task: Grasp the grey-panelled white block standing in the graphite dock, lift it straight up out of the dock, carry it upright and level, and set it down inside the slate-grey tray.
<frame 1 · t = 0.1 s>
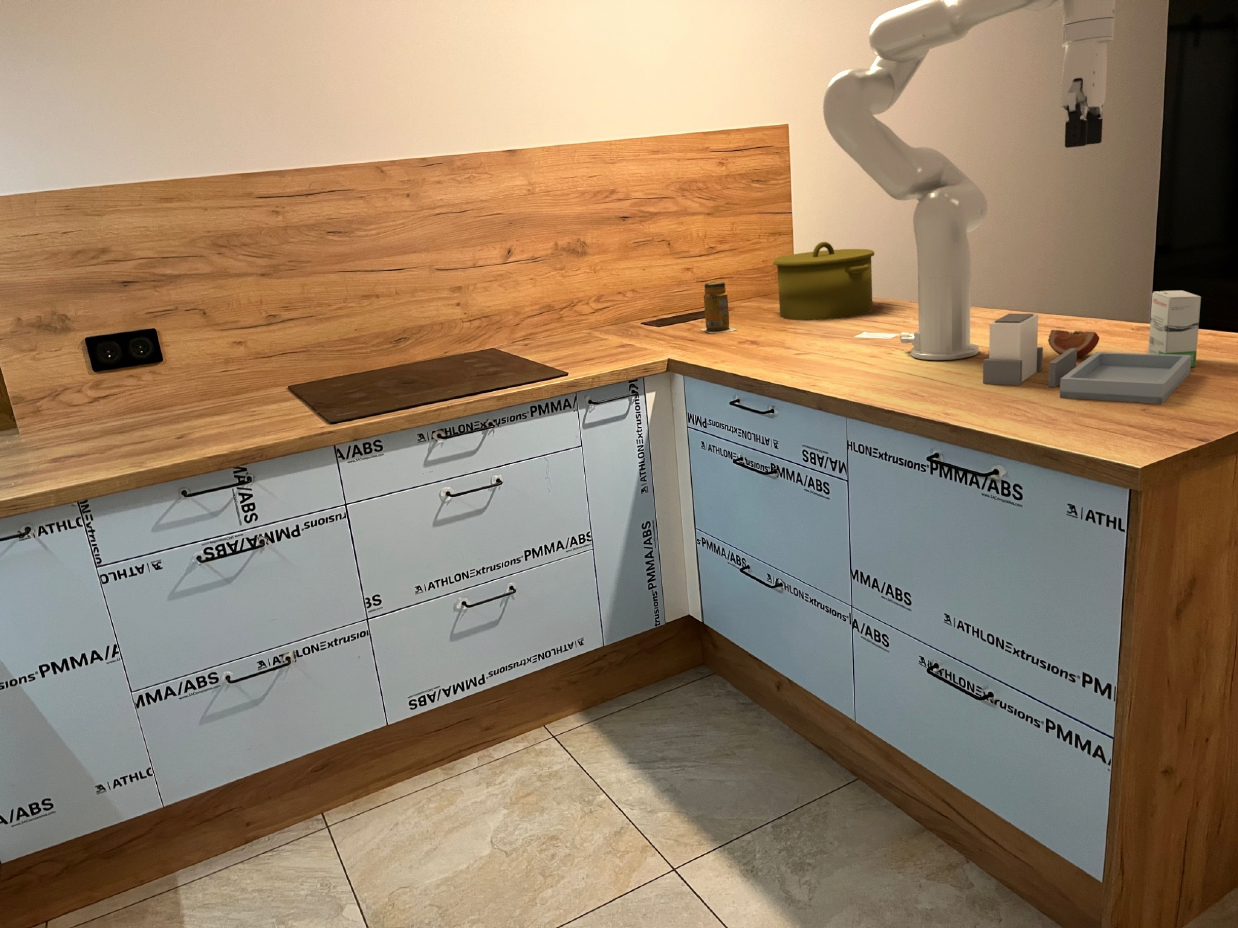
hand: (1083, 145, 155), 37 cm above the countertop, tool pointing down, fingers open, 9 cm apart
cooking pot: (825, 313, 245), on the countertop
condiment: (718, 331, 236), on the countertop
tray: (1126, 385, 146), on the countertop
fruit slice: (1072, 358, 168), on the countertop
dock: (1013, 376, 159), on the countertop
grey-panelled white block: (1013, 347, 157), in the dock
ink box: (1170, 364, 156), on the countertop
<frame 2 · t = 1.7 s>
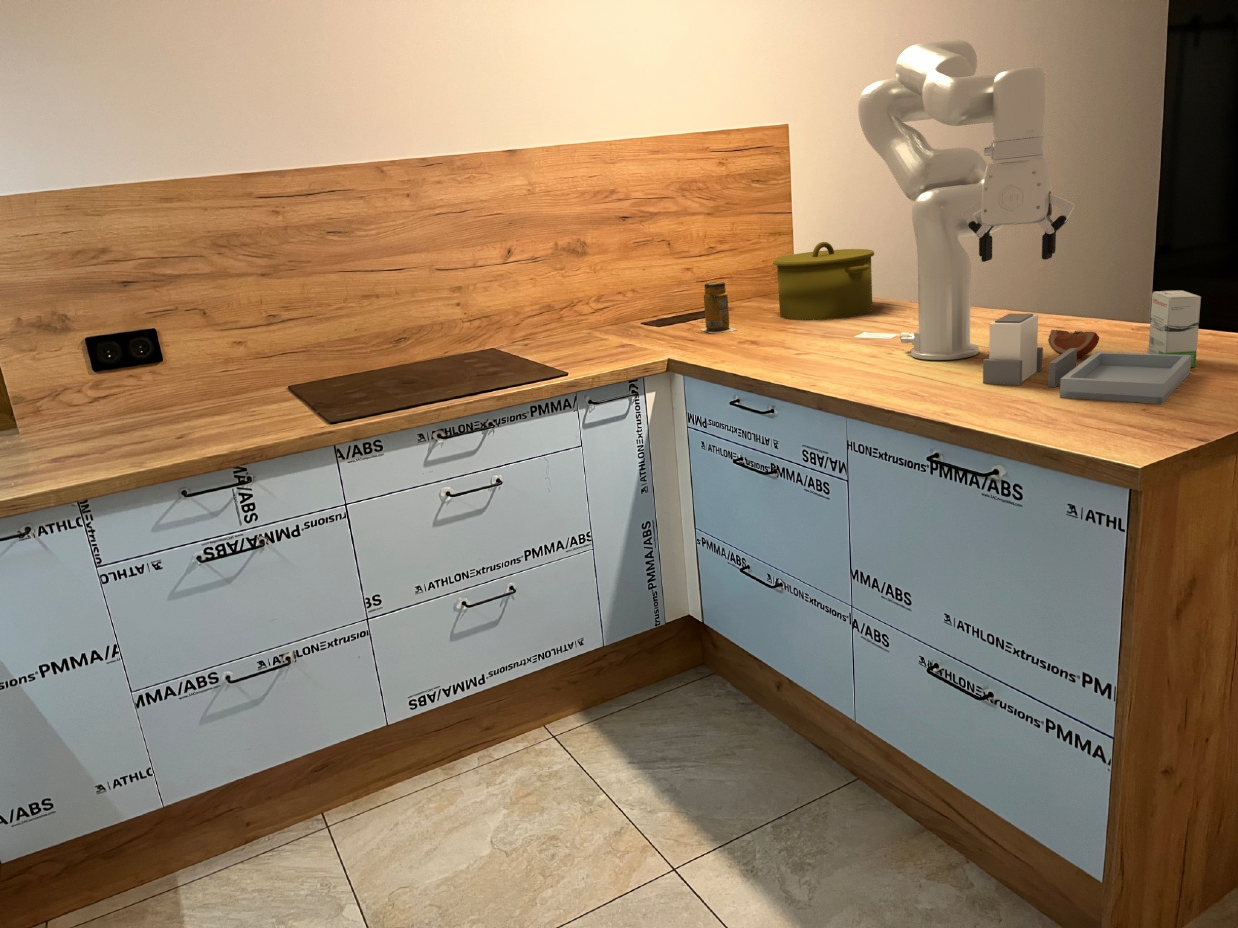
hand: (1016, 259, 153), 20 cm above the countertop, tool pointing down, fingers open, 9 cm apart
nothing on the countertop moved.
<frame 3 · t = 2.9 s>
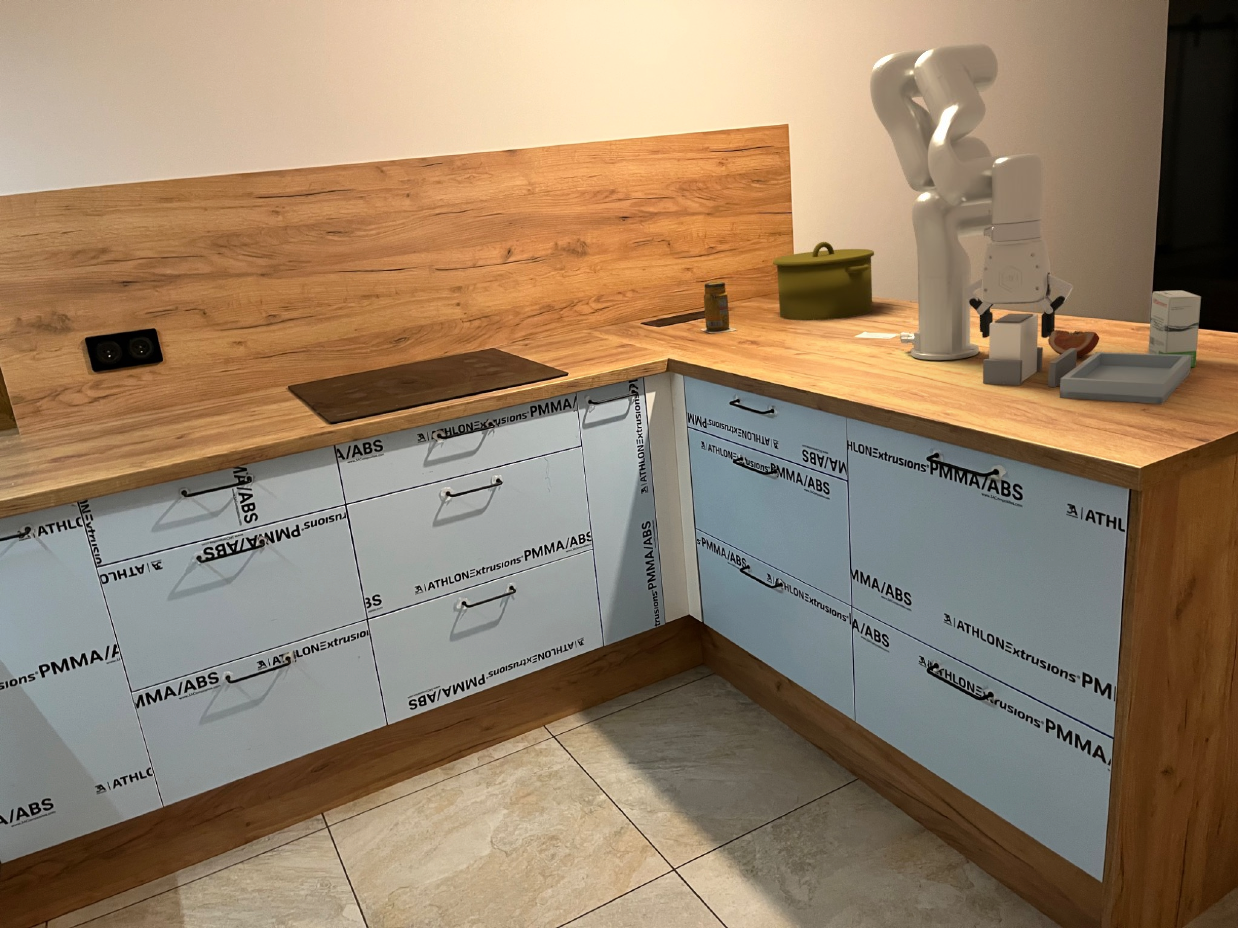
hand: (1016, 336, 156), 7 cm above the countertop, tool pointing down, fingers open, 9 cm apart
nothing on the countertop moved.
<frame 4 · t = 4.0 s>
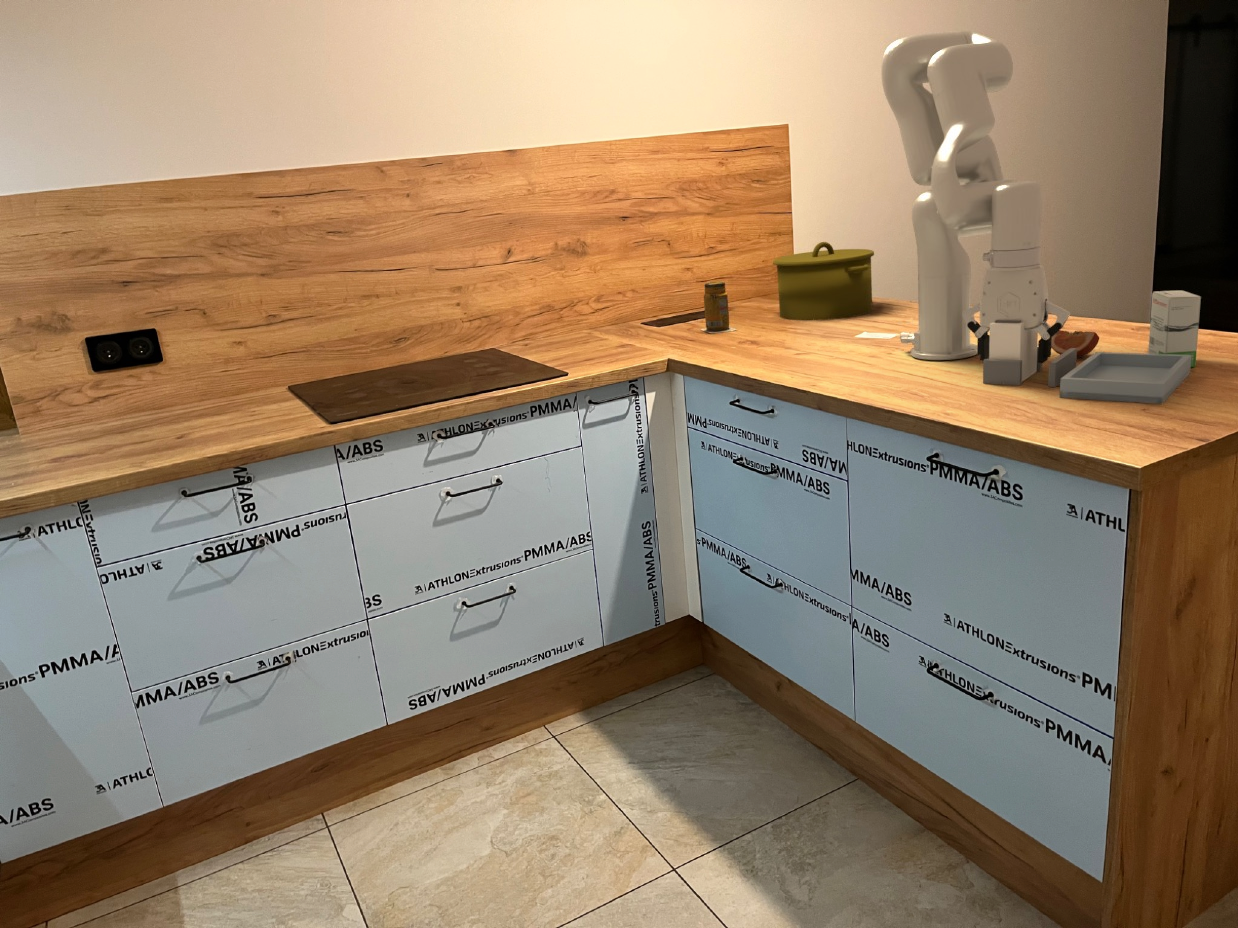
hand: (1013, 360, 158), 3 cm above the countertop, tool pointing down, fingers open, 9 cm apart
nothing on the countertop moved.
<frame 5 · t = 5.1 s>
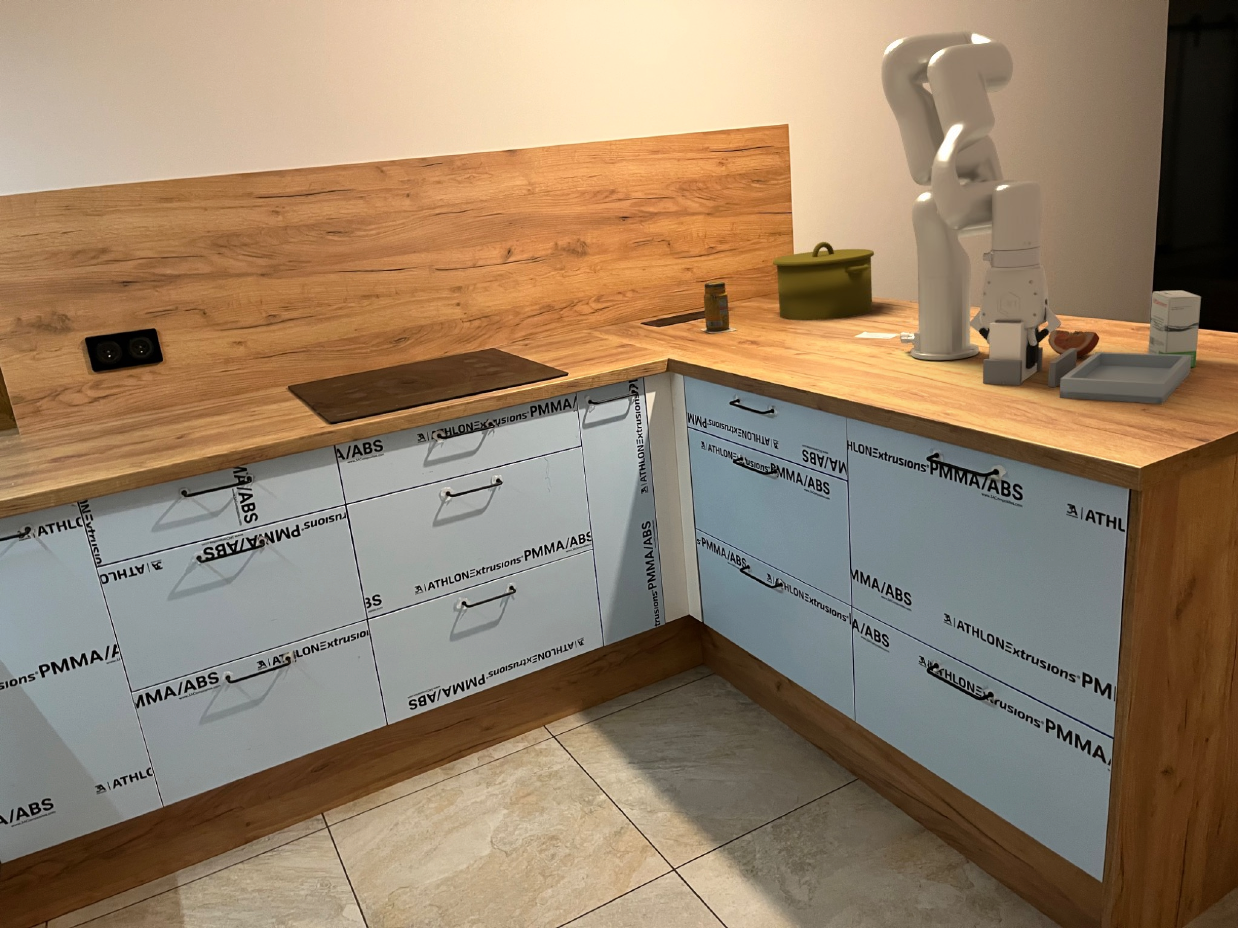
hand: (1013, 365, 158), 2 cm above the countertop, tool pointing down, fingers closed on grey-panelled white block, 5 cm apart
grey-panelled white block: (1013, 347, 157), in the dock, touching gripper
everything else where it was.
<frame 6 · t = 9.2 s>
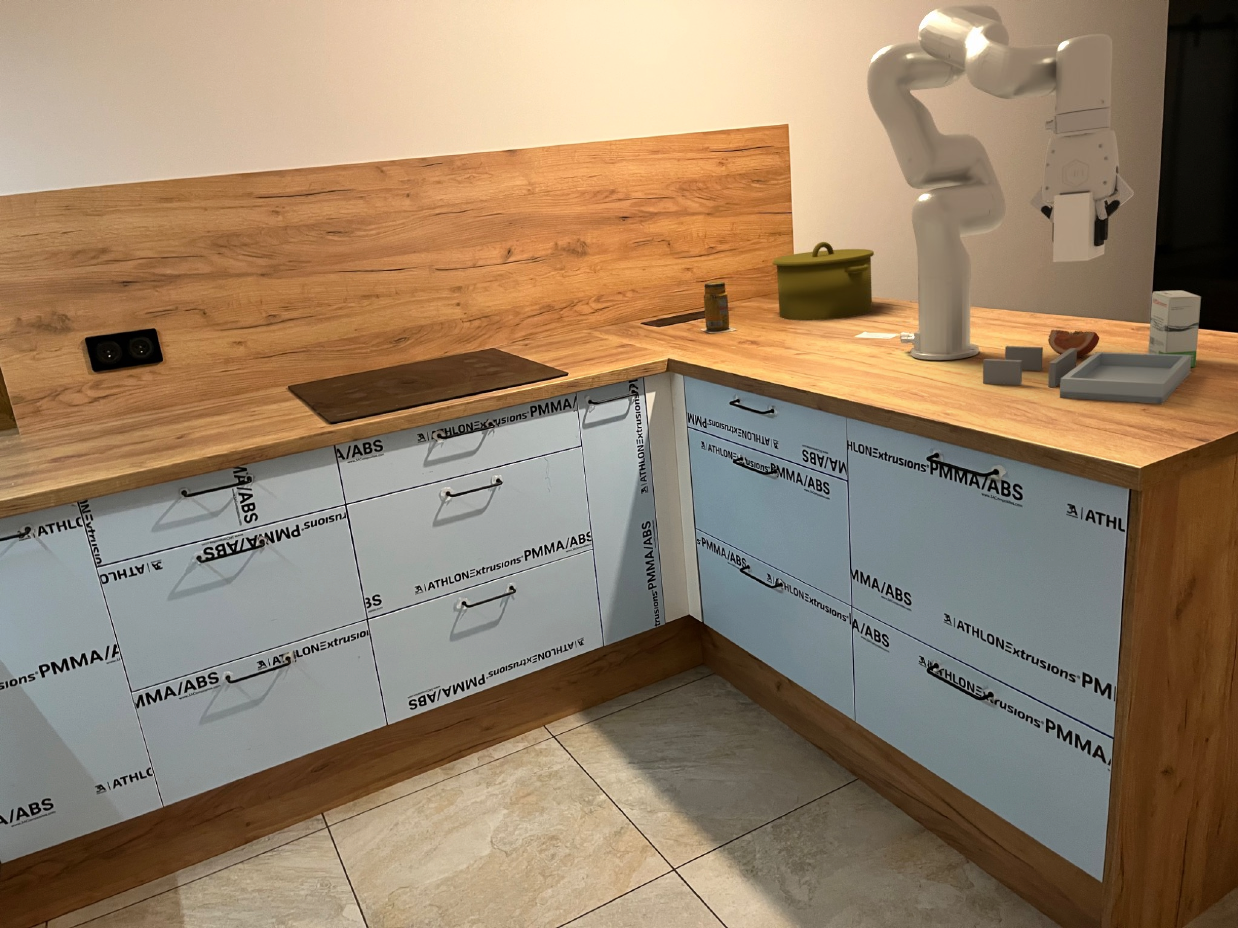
hand: (1079, 245, 145), 22 cm above the countertop, tool pointing down, fingers closed on grey-panelled white block, 5 cm apart
grey-panelled white block: (1079, 224, 144), point 25 cm above the countertop, touching gripper
everything else where it was.
when the fingers open (5 cm above the countertop, at t = 13.5 s): grey-panelled white block drops 2 cm, resting on tray.
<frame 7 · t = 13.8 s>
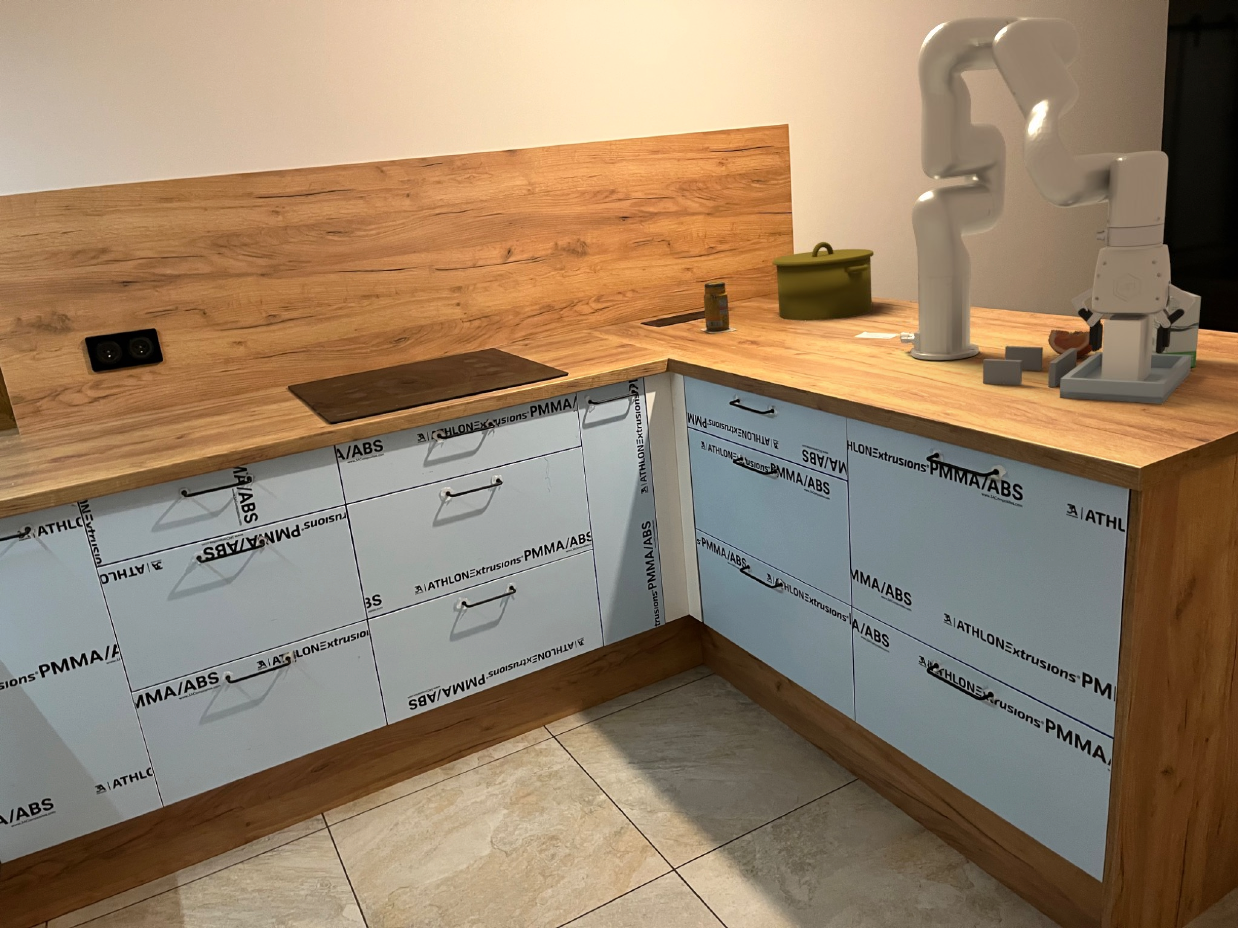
hand: (1128, 350, 144), 6 cm above the countertop, tool pointing down, fingers open, 8 cm apart
grey-panelled white block: (1127, 347, 144), in the tray, point 6 cm above the countertop
everything else where it was.
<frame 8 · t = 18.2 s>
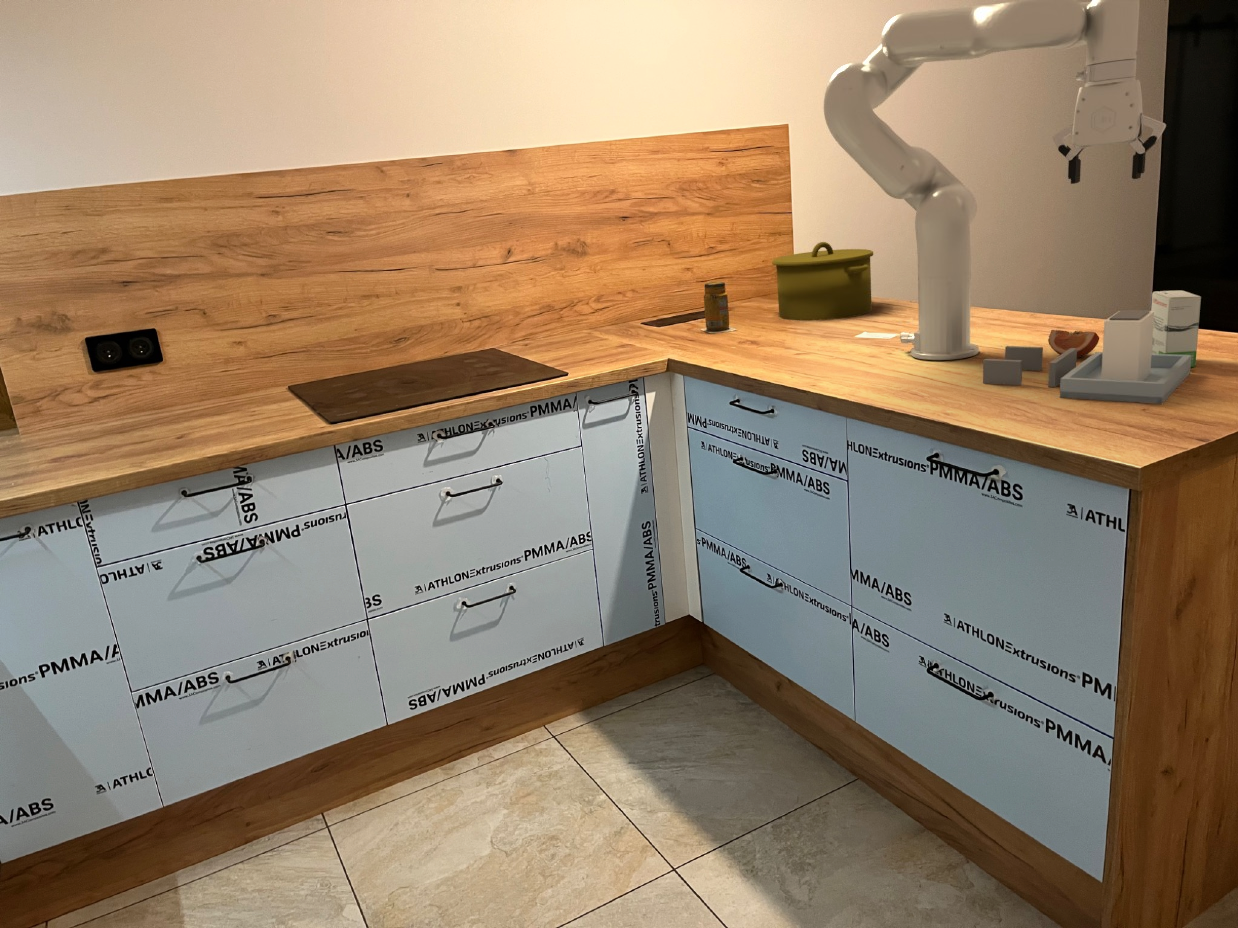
hand: (1105, 181, 160), 30 cm above the countertop, tool pointing down, fingers open, 9 cm apart
nothing on the countertop moved.
at the end: grey-panelled white block inside the target area on the tray (0.1 cm from its centre), point 6.1 cm above the tray's base; grey-panelled white block tilted 0°; the gripper is holding nothing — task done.
